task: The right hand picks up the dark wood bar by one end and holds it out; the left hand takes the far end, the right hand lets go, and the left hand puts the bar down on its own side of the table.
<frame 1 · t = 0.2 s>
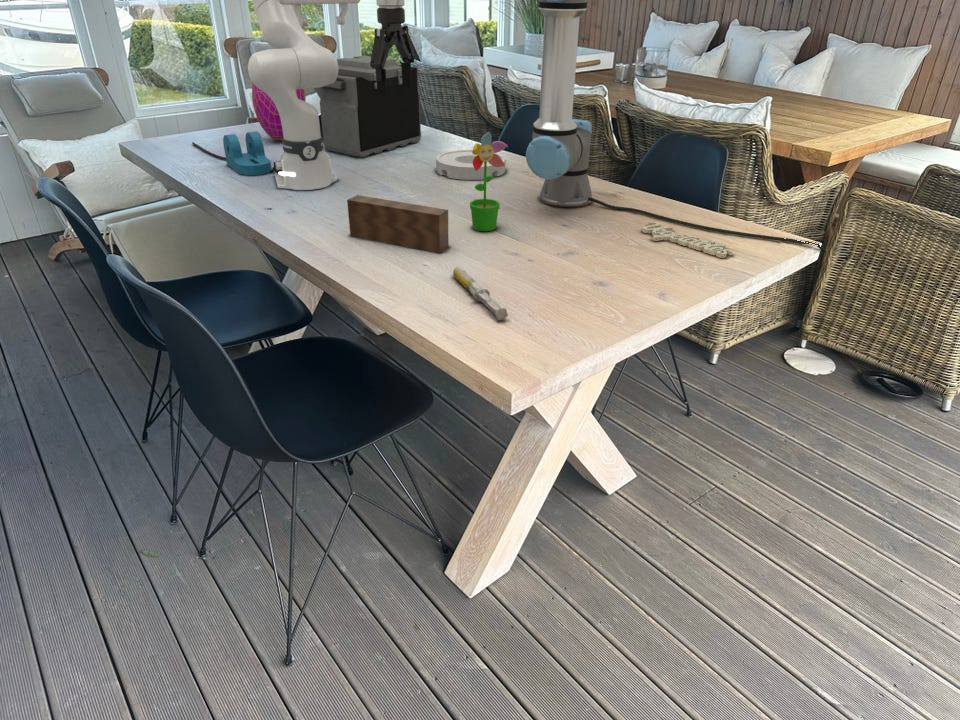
left hand: (322, 25, 168), 47 cm above the table, tool pointing down, fingers open, 8 cm apart
right hand: (395, 90, 196), 29 cm above the table, tool pointing down, fingers open, 13 cm apart
electronic device: (371, 146, 258), on the table
potted flower: (485, 228, 182), on the table
bar: (398, 241, 173), on the table
camera mount: (251, 168, 229), on the table
ashtray: (470, 170, 230), on the table
decorative sign: (681, 242, 174), on the table
syringe: (478, 297, 145), on the table
decorative egg: (284, 140, 265), on the table
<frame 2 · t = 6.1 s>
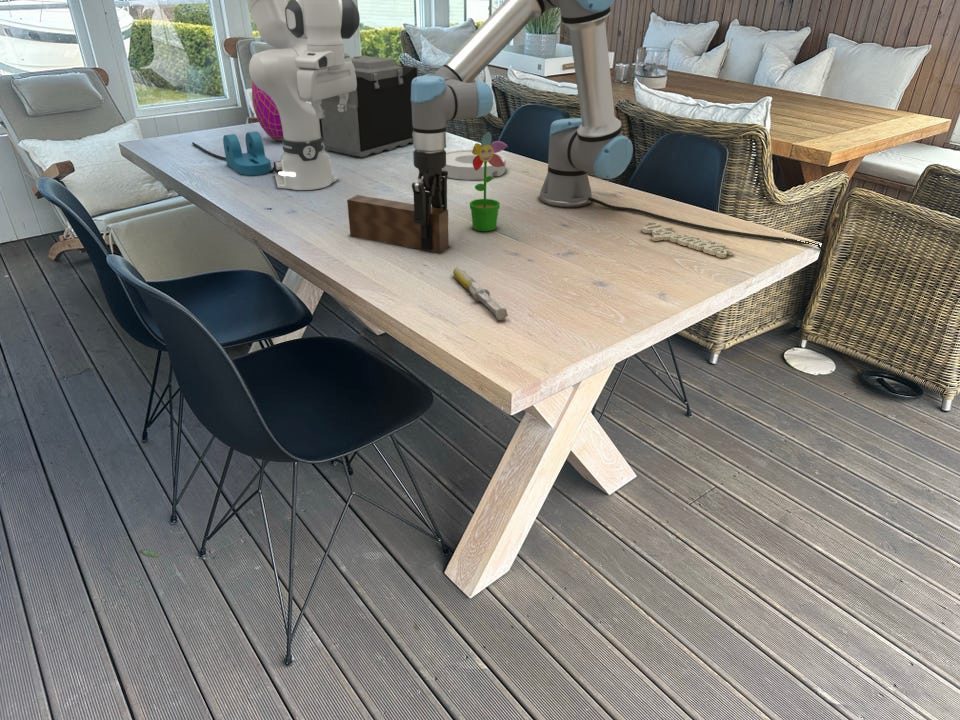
left hand: (331, 114, 178), 26 cm above the table, tool pointing down, fingers open, 8 cm apart
right hand: (432, 245, 169), 1 cm above the table, tool pointing down, fingers closed on bar, 5 cm apart
bar: (398, 241, 173), on the table, touching right hand
everything else where it was.
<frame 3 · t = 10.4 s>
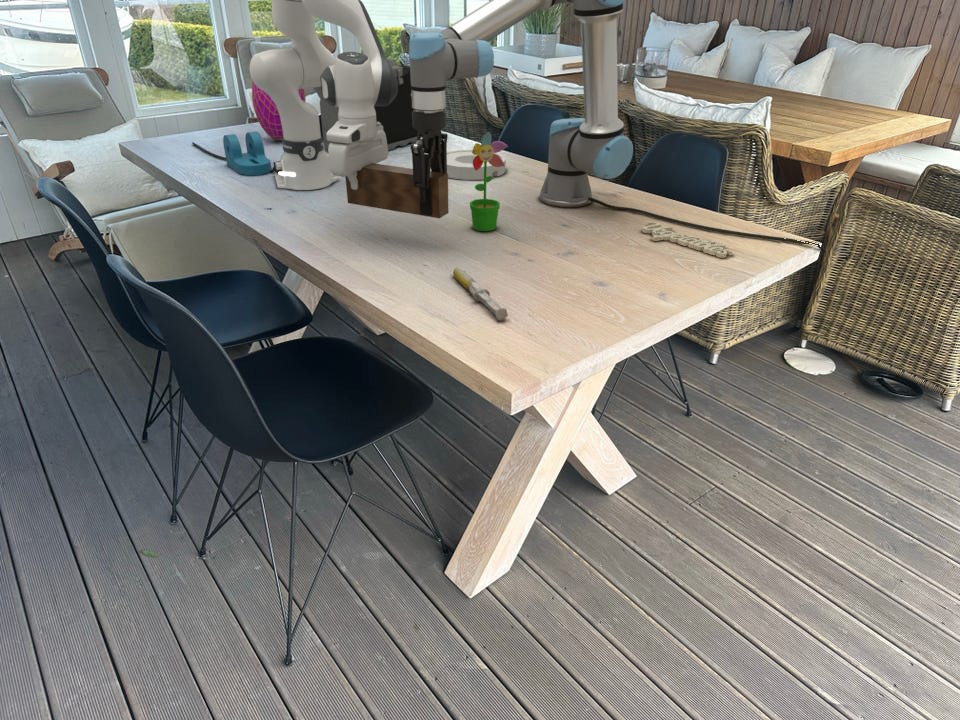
left hand: (362, 185, 170), 13 cm above the table, tool pointing down, fingers closed on bar, 4 cm apart
right hand: (431, 211, 164), 9 cm above the table, tool pointing down, fingers closed on bar, 5 cm apart
bar: (397, 208, 168), point 9 cm above the table, touching right hand, left hand
everything else where it was.
when the right hand's fingers open (9 cm above the table, at t = 11.3 s): bar stays where it is, held by the left hand.
when the left hand's fingers open (6 cm above the table, at t = 16.4 s): bar stays where it is, on the table.
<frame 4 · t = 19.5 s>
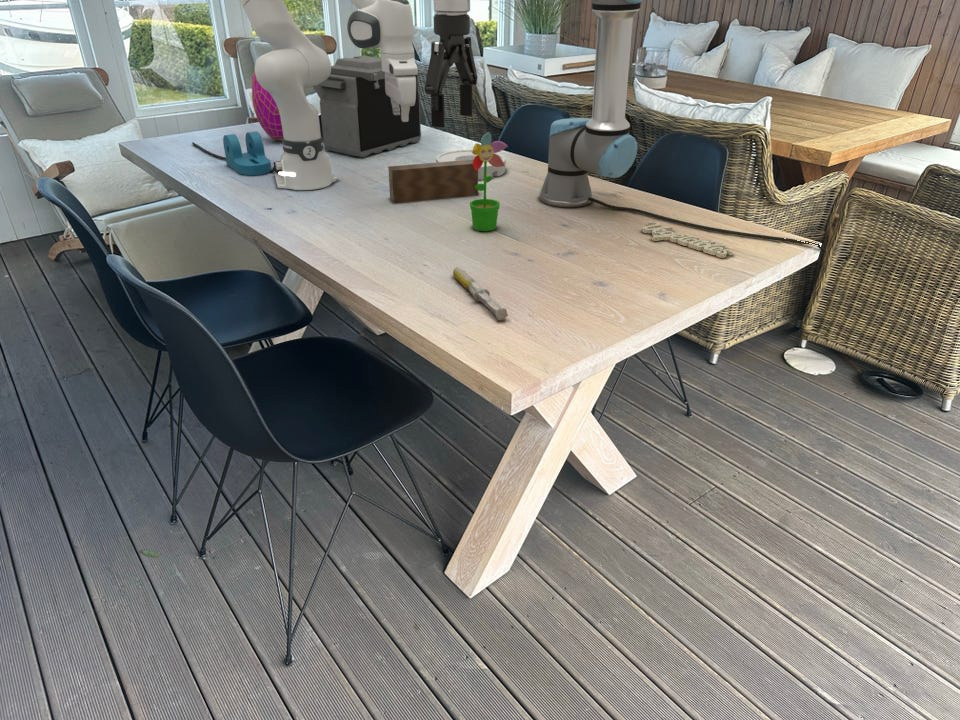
left hand: (400, 118, 190), 23 cm above the table, tool pointing down, fingers open, 8 cm apart
right hand: (452, 121, 151), 31 cm above the table, tool pointing down, fingers open, 13 cm apart
bar: (434, 196, 205), on the table
everything else where it was.
at the end: bar inside the target area (9.3 cm from its centre), on the table; the left hand is holding nothing; the right hand is holding nothing; bar at rest at the end (0.0 cm/s) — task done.
